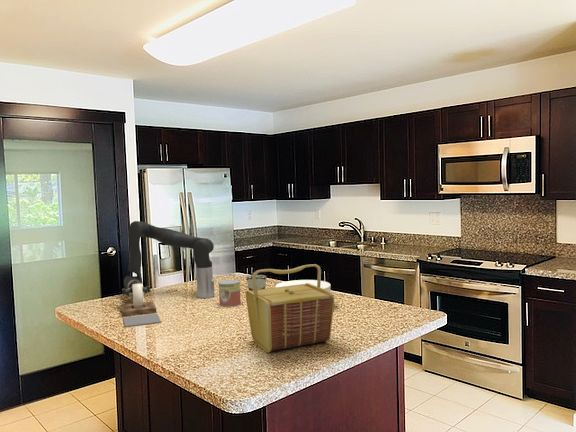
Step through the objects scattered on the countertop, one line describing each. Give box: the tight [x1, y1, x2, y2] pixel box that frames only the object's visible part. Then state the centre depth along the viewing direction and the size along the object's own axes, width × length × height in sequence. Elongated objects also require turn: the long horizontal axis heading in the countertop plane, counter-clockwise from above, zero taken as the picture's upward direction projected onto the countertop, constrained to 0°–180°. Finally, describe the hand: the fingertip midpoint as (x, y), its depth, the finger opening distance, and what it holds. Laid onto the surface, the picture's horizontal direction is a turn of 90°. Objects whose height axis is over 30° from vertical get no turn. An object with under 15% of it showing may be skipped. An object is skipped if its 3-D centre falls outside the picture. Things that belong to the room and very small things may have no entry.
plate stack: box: [274, 279, 332, 292], centre depth 241 cm, size 28×28×12 cm
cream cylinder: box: [132, 283, 144, 308], centre depth 244 cm, size 5×5×14 cm
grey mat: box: [123, 313, 162, 328], centre depth 225 cm, size 16×16×1 cm
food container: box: [245, 274, 268, 291], centre depth 279 cm, size 12×6×10 cm, turn 84°
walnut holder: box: [120, 300, 157, 318], centre depth 244 cm, size 16×16×2 cm
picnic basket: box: [245, 263, 335, 353], centre depth 186 cm, size 29×26×30 cm
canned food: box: [218, 279, 242, 308], centre depth 252 cm, size 11×11×12 cm
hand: (137, 292), depth 249 cm, fingers open, 8 cm apart
